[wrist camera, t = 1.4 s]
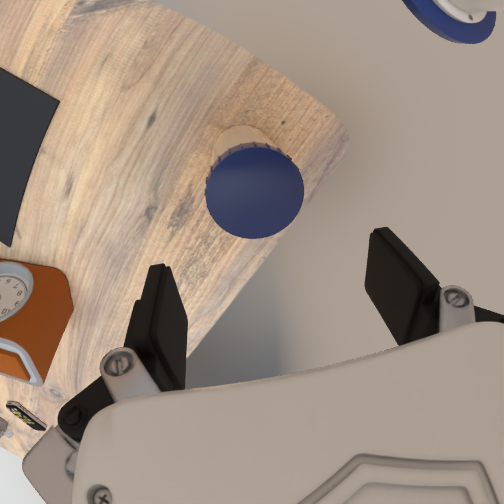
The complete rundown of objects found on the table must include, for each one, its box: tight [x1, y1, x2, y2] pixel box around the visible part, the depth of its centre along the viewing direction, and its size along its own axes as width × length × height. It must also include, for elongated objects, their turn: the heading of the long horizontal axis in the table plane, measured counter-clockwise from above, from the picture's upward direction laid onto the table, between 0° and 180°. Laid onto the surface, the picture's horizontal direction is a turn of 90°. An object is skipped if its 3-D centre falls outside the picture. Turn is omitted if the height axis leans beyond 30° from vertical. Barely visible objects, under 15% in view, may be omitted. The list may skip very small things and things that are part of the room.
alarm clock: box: [0, 259, 73, 386], centre depth 27 cm, size 15×8×14 cm, turn 79°
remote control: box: [6, 402, 46, 431], centre depth 52 cm, size 6×13×2 cm, turn 16°
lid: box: [205, 141, 304, 239], centre depth 20 cm, size 6×6×2 cm
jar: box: [210, 125, 277, 166], centre depth 24 cm, size 6×6×10 cm
